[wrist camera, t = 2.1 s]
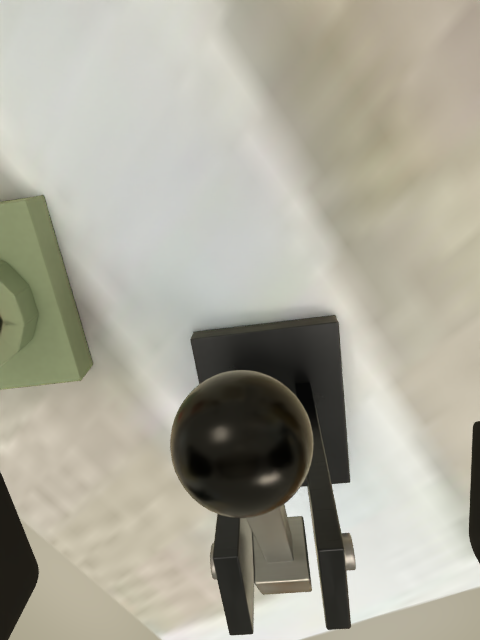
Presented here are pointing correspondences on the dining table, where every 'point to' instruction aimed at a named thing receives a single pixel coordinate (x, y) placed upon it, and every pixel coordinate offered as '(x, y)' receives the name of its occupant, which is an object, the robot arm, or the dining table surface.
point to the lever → (249, 466)
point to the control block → (36, 302)
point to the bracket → (327, 461)
